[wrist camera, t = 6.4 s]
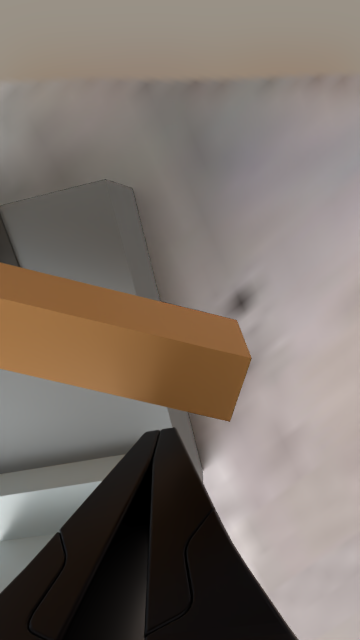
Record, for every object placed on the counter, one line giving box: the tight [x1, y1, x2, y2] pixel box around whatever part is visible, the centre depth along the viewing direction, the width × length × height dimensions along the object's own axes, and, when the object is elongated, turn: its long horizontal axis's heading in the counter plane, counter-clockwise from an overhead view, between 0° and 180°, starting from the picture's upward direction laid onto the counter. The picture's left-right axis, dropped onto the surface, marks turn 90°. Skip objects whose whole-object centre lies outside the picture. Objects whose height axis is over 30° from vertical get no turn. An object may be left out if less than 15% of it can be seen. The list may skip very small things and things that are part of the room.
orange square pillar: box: [0, 263, 252, 422], centre depth 9 cm, size 2×9×4 cm, turn 76°
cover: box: [0, 454, 125, 593], centre depth 12 cm, size 7×5×4 cm
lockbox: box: [0, 179, 203, 483], centre depth 14 cm, size 10×15×5 cm, turn 13°
